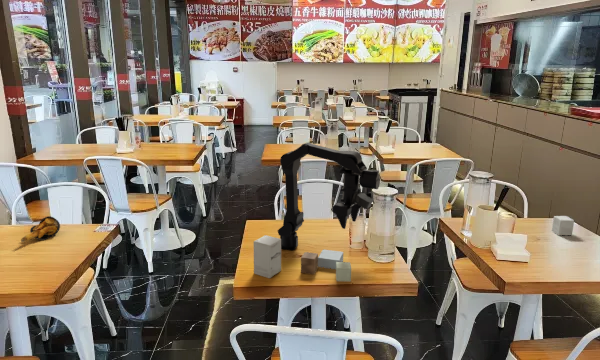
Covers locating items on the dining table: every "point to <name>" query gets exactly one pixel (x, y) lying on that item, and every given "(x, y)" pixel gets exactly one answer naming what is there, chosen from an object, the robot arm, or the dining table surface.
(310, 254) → the walnut block
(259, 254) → the supplement box
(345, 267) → the sage block
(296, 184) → the robot arm
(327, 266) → the slate plinth
